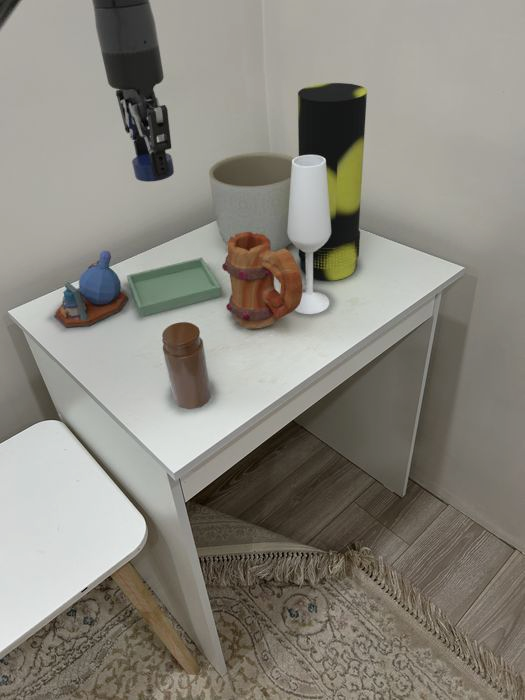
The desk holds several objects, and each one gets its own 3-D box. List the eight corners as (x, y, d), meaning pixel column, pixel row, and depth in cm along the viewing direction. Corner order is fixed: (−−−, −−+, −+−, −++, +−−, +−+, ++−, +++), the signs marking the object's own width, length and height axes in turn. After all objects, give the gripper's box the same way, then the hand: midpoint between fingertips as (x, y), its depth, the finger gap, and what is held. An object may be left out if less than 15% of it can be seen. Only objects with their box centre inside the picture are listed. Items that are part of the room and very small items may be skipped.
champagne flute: (281, 300, 92) (275, 160, 77) (313, 287, 95) (313, 148, 80) (305, 319, 88) (303, 173, 73) (337, 304, 91) (342, 161, 75)
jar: (182, 414, 73) (168, 350, 66) (168, 391, 77) (153, 329, 70) (217, 399, 75) (207, 336, 68) (201, 378, 78) (191, 315, 71)
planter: (269, 216, 118) (265, 145, 108) (321, 245, 107) (321, 168, 97) (202, 242, 110) (191, 168, 101) (250, 275, 99) (243, 196, 90)
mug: (218, 318, 90) (207, 235, 80) (255, 298, 94) (249, 216, 84) (278, 358, 81) (274, 270, 71) (317, 334, 85) (317, 248, 75)
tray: (140, 317, 91) (138, 307, 90) (128, 284, 99) (126, 275, 98) (221, 296, 95) (220, 286, 93) (203, 266, 103) (201, 257, 102)
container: (339, 288, 94) (345, 105, 75) (287, 271, 100) (281, 96, 81) (368, 261, 101) (381, 86, 82) (318, 247, 106) (320, 79, 87)
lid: (169, 164, 85) (167, 149, 84) (178, 176, 81) (176, 161, 79) (132, 171, 84) (128, 156, 82) (139, 184, 79) (135, 169, 78)
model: (109, 284, 100) (97, 238, 94) (136, 303, 94) (124, 256, 88) (48, 311, 94) (31, 264, 88) (73, 334, 88) (56, 286, 82)
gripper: (177, 47, 68) (196, 179, 78) (137, 33, 78) (158, 151, 88) (120, 57, 65) (147, 192, 76) (85, 41, 75) (114, 162, 86)
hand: (153, 170), depth 82 cm, fingers closed on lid, 6 cm apart
